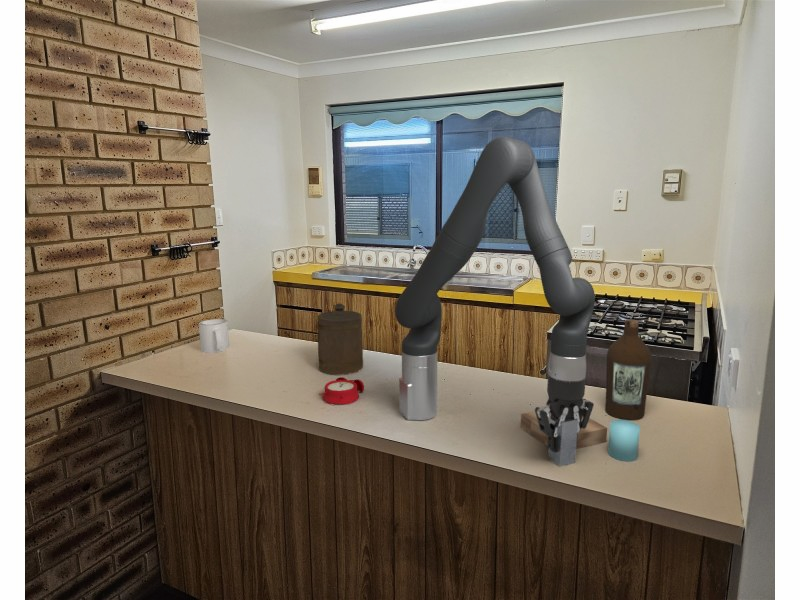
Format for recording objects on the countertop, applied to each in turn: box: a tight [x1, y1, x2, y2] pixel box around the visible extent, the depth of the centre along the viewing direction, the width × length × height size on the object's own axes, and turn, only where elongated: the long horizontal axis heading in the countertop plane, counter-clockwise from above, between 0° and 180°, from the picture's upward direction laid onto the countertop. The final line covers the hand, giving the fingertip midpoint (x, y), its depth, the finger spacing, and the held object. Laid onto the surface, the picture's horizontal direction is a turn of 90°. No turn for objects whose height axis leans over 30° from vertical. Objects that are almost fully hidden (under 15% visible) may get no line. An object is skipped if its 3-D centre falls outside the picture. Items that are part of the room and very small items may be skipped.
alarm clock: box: [318, 376, 365, 405], centre depth 147 cm, size 10×6×15 cm
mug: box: [198, 318, 230, 354], centre depth 192 cm, size 14×10×11 cm
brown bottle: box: [604, 318, 653, 421], centre depth 132 cm, size 11×11×25 cm
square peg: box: [547, 416, 578, 467], centre depth 110 cm, size 4×4×10 cm
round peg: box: [607, 419, 641, 463], centre depth 112 cm, size 6×6×7 cm
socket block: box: [520, 411, 608, 450], centre depth 122 cm, size 14×14×4 cm
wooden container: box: [317, 303, 364, 375], centre depth 170 cm, size 15×15×22 cm
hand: (562, 448), depth 110 cm, fingers closed on square peg, 4 cm apart
